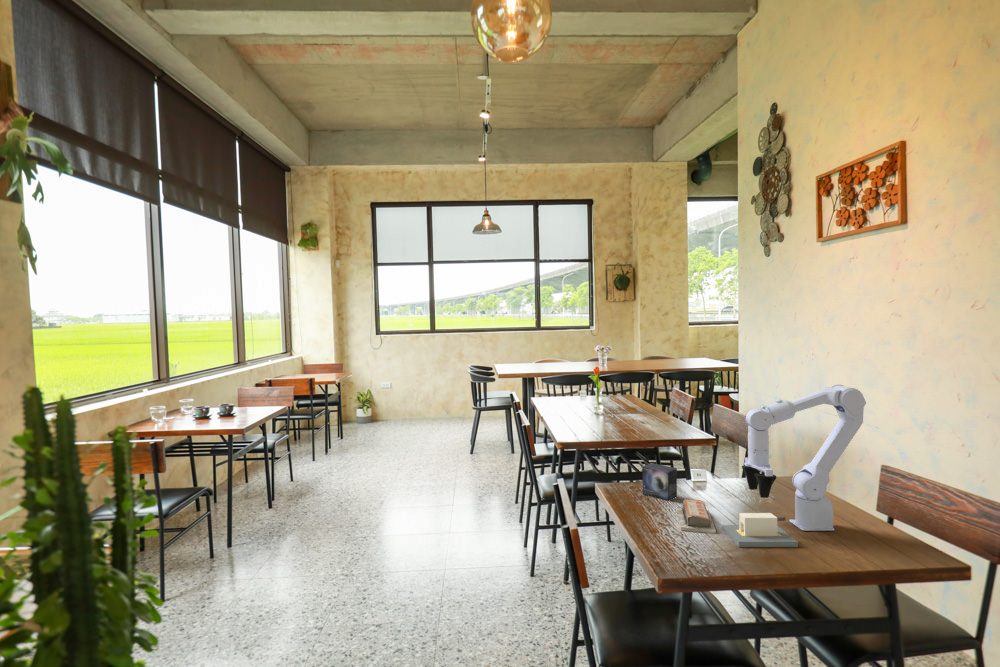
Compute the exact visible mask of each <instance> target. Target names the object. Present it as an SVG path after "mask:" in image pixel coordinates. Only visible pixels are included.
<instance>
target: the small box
mask: <svg viewBox="0 0 1000 667" xmlns="http://www.w3.org/2000/svg"><path fill="white" fill-rule="evenodd" d="M677 471H678V469H677V468H676V467H673V466H668V465H667V466H666V465H664V464H658V463H652V462H651V463H648V464H646V465H643V466H642V494H643V495H644V494H645V495H644V496H648V495H649V497H651V496H652V497H653V498H655V497H656V499H659V498H660V499H659V500H663V501H666V500H667V502H670V501H672V500H674V499H676V498H678V489H677V488H678V481H677V476H678V475H677V474H678V472H677ZM675 497H676V498H675ZM673 498H674V499H673ZM671 499H672V500H671ZM669 500H670V501H669Z"/></svg>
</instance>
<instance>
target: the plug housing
mask: <svg viewBox="0 0 1000 667" xmlns="http://www.w3.org/2000/svg"><path fill="white" fill-rule="evenodd" d="M738 516H739V517H738V518H739V522H738V525H739V530H740V531H744V535H777V526H778V522H786V517H785V516H784V517H782V516H781V517H779V516H776V515H774V514H773V513H772V512H740V513H739V515H738Z"/></svg>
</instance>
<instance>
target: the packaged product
mask: <svg viewBox="0 0 1000 667" xmlns="http://www.w3.org/2000/svg"><path fill="white" fill-rule="evenodd" d="M676 511H677V516H678V524H679V528H680V531H682V532H692V533H693V532H694V533H706V534H707V533H708V534H717V533H716V526H715V525H714V521H713V518H712V516H711V513H710V510H709V509H707V507H706V503H705V502H704V501H703V500H700V499H699V500H698V499H687V498H686V499H683V501H682V507H680V506H677V507H676Z"/></svg>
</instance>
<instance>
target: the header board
mask: <svg viewBox="0 0 1000 667" xmlns="http://www.w3.org/2000/svg"><path fill="white" fill-rule="evenodd" d="M722 530H723V531H724V532H725V533H726V534H727V535H728V536H729V537H730V538H729V537H728V536H727V535H726V534H725V533H724V532H723V531H722ZM721 531H722V532H723V533H724V534H725V535H726V536H727V537H728V538H729V539H730V540H731V541H732V542H733V543H734V544H735V545H736V546H737V548H798V547H799V541H798V540H797V539H796V538H794V537H792V535H790V534H789V533H788V532H786V531H785V530H783V528H781V527H780V526H778V525H777V535H744V531H740V530H739V524H737V525H734V524H732V525H731V524H723V525H721Z"/></svg>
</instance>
